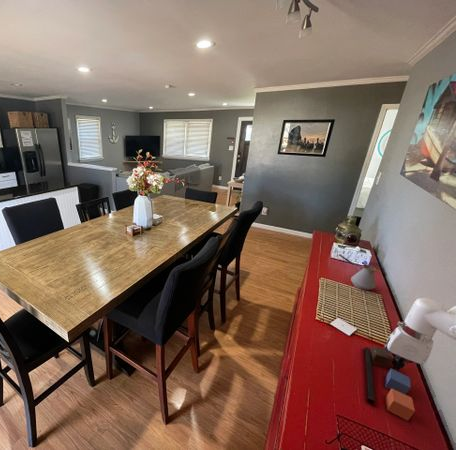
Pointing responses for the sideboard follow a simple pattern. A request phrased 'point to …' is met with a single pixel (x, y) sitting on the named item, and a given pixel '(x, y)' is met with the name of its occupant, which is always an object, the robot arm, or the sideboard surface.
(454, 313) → the robot arm
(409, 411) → the terracotta block
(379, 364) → the walnut block
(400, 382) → the slate blue block
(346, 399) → the sideboard surface
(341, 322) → the coaster
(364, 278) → the coffee pot
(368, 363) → the rail
